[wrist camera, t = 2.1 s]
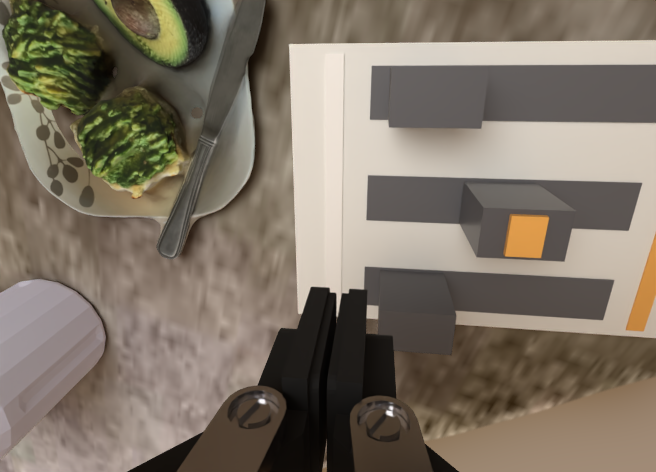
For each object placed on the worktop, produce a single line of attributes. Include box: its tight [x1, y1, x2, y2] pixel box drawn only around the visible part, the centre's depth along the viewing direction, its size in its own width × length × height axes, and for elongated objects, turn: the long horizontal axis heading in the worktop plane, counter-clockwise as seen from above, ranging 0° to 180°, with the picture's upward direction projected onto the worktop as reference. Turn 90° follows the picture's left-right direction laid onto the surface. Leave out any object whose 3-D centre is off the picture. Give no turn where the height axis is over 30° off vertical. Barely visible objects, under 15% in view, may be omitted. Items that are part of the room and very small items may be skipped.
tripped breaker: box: [459, 182, 576, 262], centre depth 21 cm, size 4×2×5 cm, turn 90°
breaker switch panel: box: [289, 40, 656, 355], centre depth 23 cm, size 24×17×7 cm
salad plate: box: [0, 0, 266, 259], centre depth 25 cm, size 19×18×5 cm
